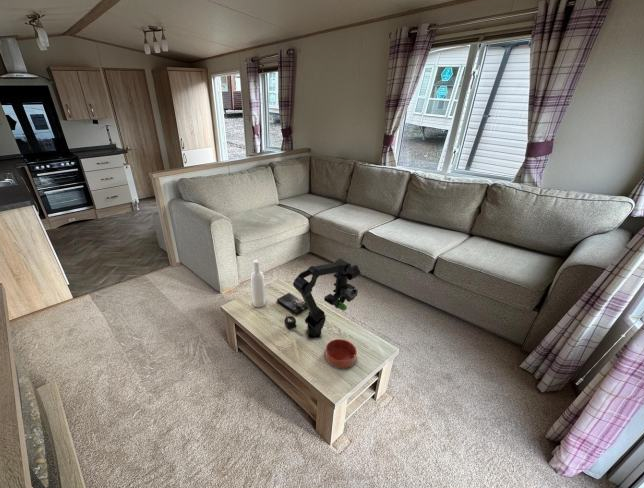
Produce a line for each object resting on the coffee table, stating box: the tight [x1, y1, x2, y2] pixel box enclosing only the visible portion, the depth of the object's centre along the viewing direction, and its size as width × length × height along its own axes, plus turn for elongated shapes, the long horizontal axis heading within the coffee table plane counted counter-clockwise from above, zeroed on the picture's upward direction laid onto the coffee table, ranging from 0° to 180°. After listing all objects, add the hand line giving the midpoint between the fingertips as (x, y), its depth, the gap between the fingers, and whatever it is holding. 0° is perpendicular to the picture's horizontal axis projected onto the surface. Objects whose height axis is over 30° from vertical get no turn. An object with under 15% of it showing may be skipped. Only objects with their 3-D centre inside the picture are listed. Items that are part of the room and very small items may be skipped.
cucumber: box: [333, 302, 348, 312], centre depth 160 cm, size 4×9×4 cm, turn 38°
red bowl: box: [325, 338, 358, 369], centre depth 144 cm, size 14×14×5 cm
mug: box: [283, 313, 302, 335], centre depth 161 cm, size 12×6×7 cm, turn 42°
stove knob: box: [296, 298, 303, 308], centre depth 175 cm, size 4×4×4 cm
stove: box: [276, 292, 309, 317], centre depth 180 cm, size 18×10×3 cm, turn 40°
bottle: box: [250, 259, 267, 308], centre depth 176 cm, size 8×8×30 cm
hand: (339, 306), depth 161 cm, fingers closed on cucumber, 3 cm apart
